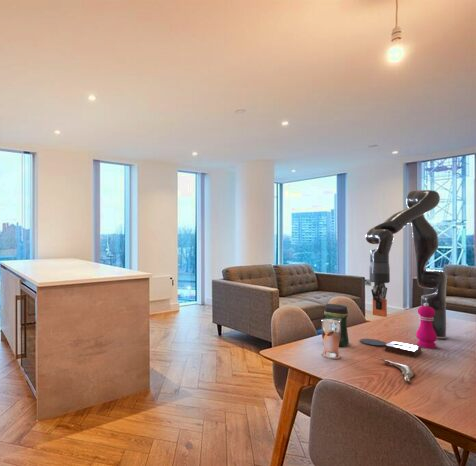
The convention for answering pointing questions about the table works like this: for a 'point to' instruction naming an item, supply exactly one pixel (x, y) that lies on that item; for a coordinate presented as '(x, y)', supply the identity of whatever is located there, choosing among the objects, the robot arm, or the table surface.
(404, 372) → the jawbone
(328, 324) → the beer glass
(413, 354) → the holder
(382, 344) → the coaster
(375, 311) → the orange rectangular block
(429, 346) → the pepper mill
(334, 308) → the coffee jar
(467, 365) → the table surface
